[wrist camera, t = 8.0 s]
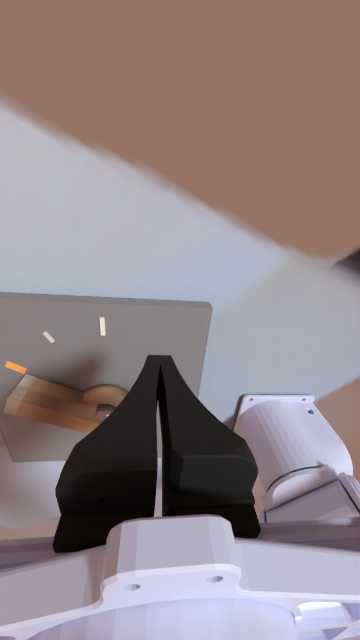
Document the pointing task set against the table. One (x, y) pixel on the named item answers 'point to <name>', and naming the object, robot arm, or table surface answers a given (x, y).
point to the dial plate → (89, 354)
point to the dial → (64, 403)
